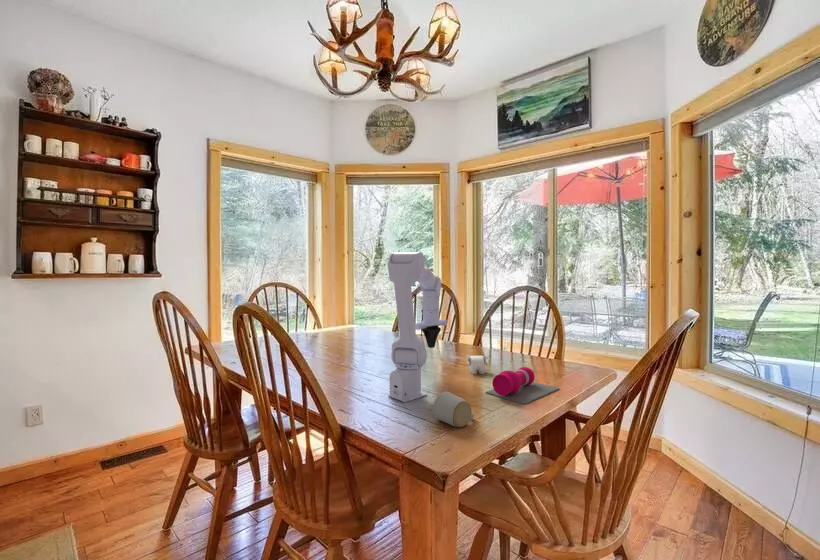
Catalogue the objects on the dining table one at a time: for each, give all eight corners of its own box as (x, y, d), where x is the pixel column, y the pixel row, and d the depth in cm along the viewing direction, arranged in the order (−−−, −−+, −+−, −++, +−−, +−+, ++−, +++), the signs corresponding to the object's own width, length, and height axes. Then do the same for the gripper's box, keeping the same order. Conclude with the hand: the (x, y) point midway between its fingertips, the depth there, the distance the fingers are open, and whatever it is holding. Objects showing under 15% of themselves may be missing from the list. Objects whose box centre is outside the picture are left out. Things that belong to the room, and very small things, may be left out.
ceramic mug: (454, 432, 99) (454, 402, 99) (431, 422, 105) (432, 394, 105) (481, 422, 105) (482, 393, 105) (459, 413, 111) (459, 386, 111)
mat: (525, 404, 117) (525, 403, 117) (485, 393, 127) (485, 391, 127) (559, 389, 131) (559, 387, 131) (520, 380, 141) (520, 378, 141)
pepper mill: (512, 399, 119) (541, 386, 134) (512, 374, 119) (540, 364, 135) (490, 395, 124) (520, 383, 139) (490, 371, 124) (520, 362, 139)
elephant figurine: (484, 368, 157) (484, 350, 156) (490, 375, 147) (490, 355, 147) (464, 368, 156) (464, 350, 156) (469, 375, 147) (468, 356, 147)
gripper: (436, 306, 154) (437, 342, 154) (408, 310, 144) (408, 348, 144) (451, 308, 148) (451, 345, 149) (422, 312, 138) (422, 351, 139)
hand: (431, 347), depth 146 cm, fingers closed
